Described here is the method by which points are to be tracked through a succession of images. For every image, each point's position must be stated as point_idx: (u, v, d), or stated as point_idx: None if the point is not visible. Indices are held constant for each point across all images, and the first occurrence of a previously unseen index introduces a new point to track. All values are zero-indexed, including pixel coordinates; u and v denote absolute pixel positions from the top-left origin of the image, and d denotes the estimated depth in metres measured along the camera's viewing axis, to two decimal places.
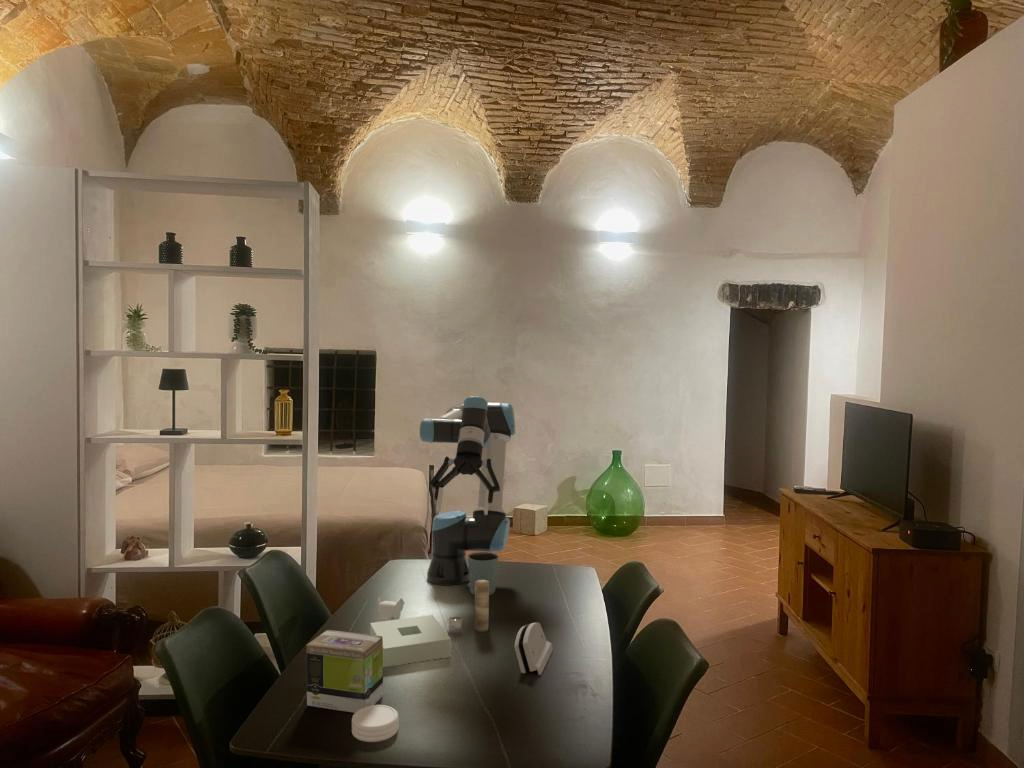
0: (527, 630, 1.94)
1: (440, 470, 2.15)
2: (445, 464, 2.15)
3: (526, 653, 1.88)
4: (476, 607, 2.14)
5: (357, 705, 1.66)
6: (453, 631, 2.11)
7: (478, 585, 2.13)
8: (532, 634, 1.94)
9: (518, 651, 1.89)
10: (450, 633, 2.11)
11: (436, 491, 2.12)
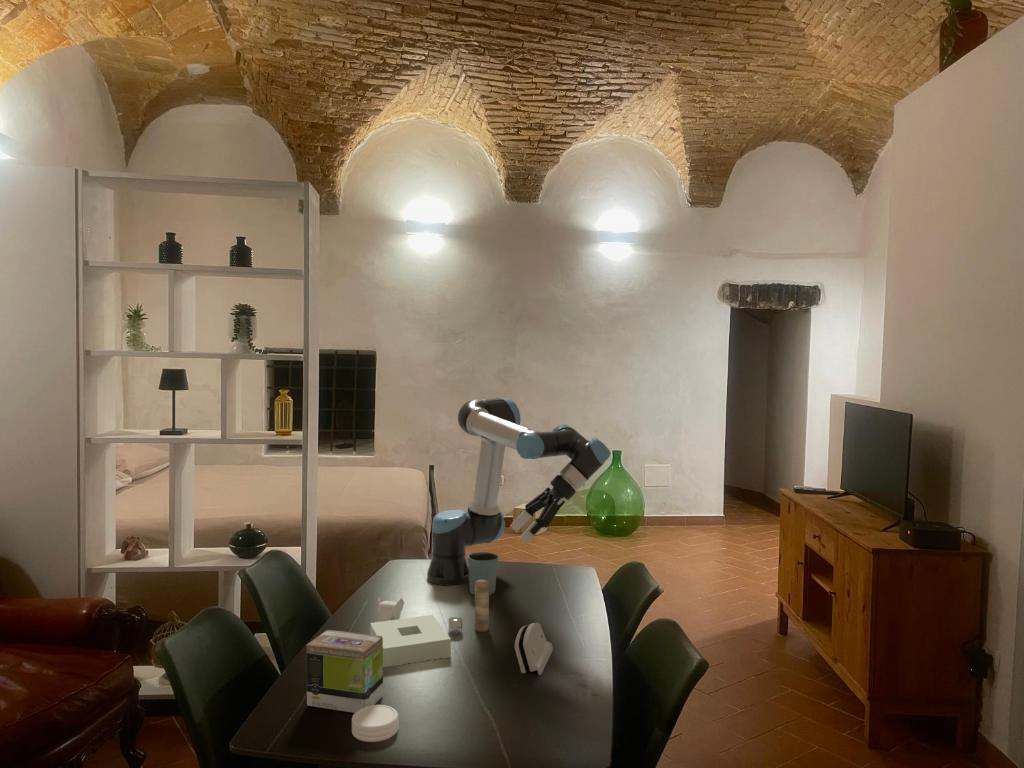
0: (527, 630, 1.93)
1: None
2: None
3: (526, 653, 1.88)
4: (476, 607, 2.14)
5: (357, 705, 1.66)
6: (453, 631, 2.11)
7: (478, 585, 2.13)
8: (532, 634, 1.94)
9: (518, 651, 1.89)
10: (450, 633, 2.11)
11: None
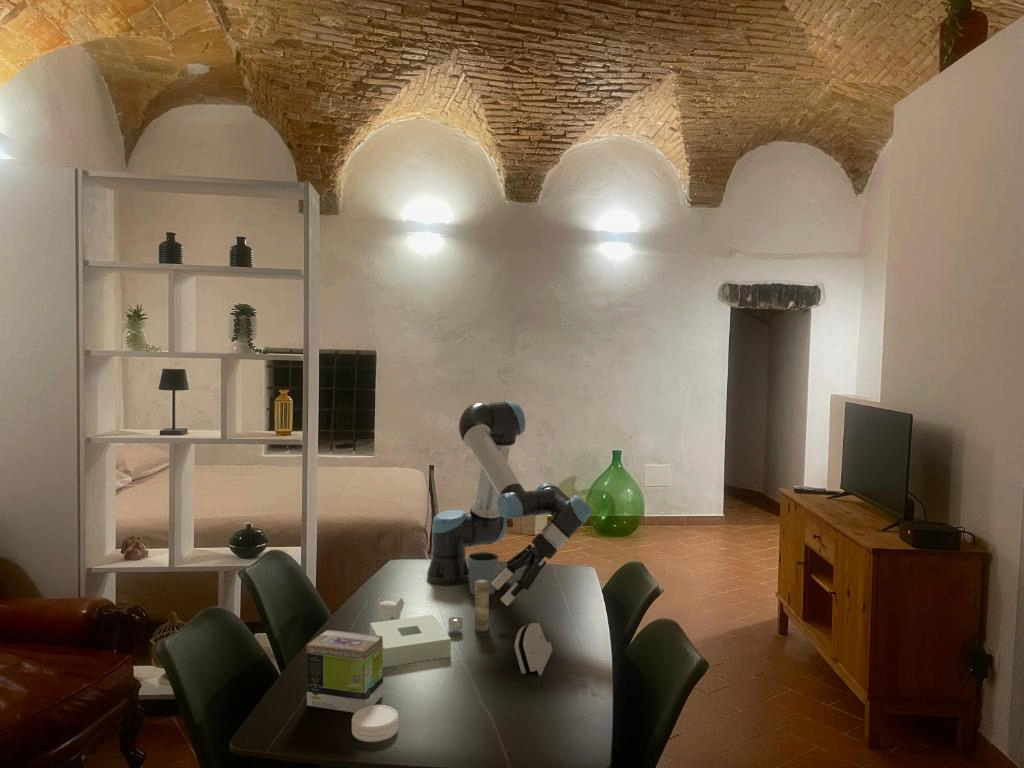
0: (527, 630, 1.93)
1: None
2: None
3: (526, 653, 1.88)
4: (476, 607, 2.14)
5: (357, 705, 1.66)
6: (453, 631, 2.11)
7: (478, 585, 2.13)
8: (531, 634, 1.93)
9: (518, 651, 1.88)
10: (450, 633, 2.11)
11: None
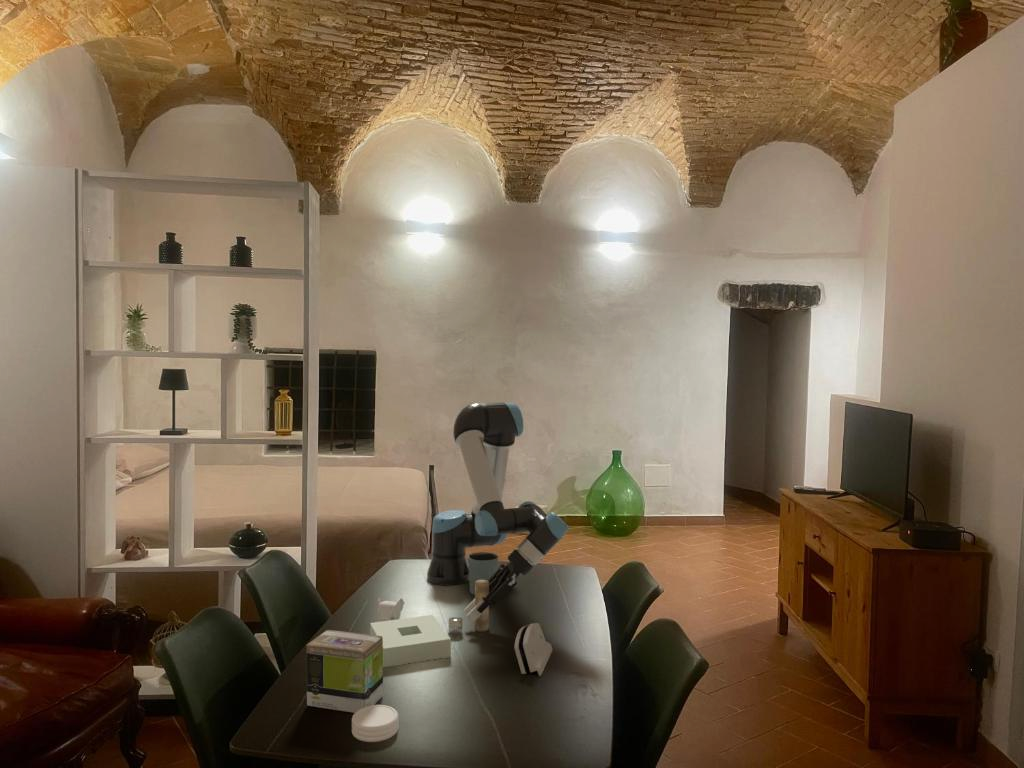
0: (527, 631, 1.93)
1: None
2: None
3: (526, 654, 1.87)
4: None
5: (357, 705, 1.66)
6: (453, 631, 2.11)
7: (478, 585, 2.13)
8: (531, 634, 1.93)
9: (518, 652, 1.88)
10: (450, 633, 2.11)
11: None
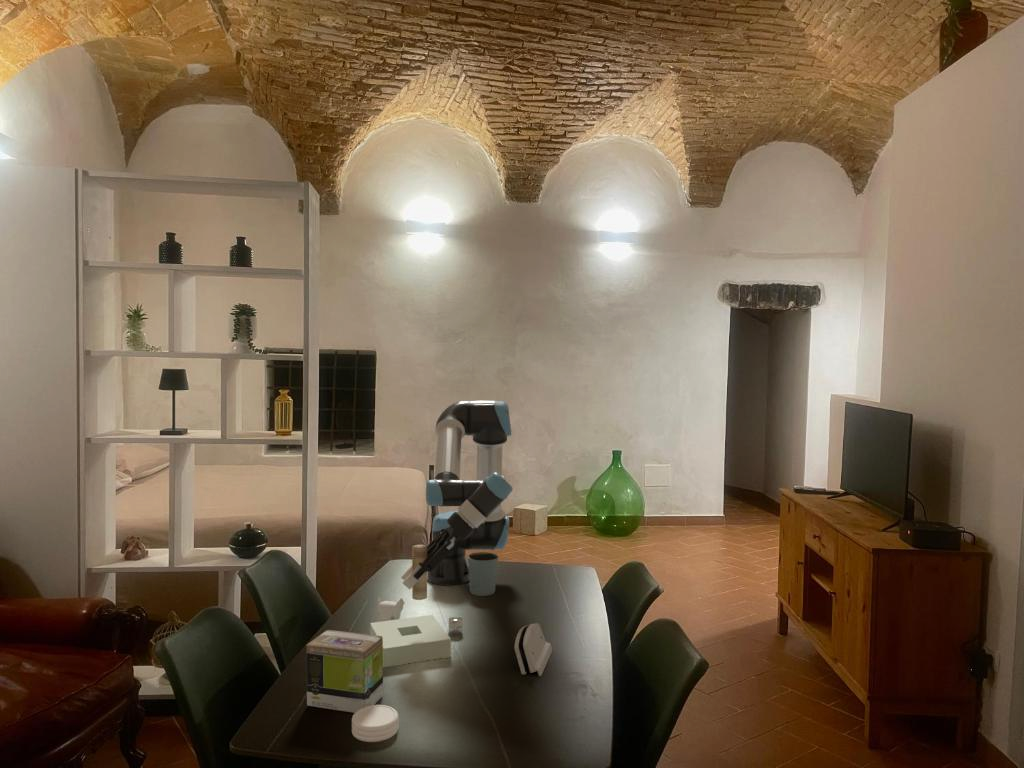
0: (527, 631, 1.93)
1: None
2: None
3: (526, 654, 1.87)
4: None
5: (357, 705, 1.66)
6: (453, 631, 2.11)
7: (415, 550, 1.99)
8: (531, 634, 1.93)
9: (518, 652, 1.88)
10: (450, 633, 2.11)
11: None
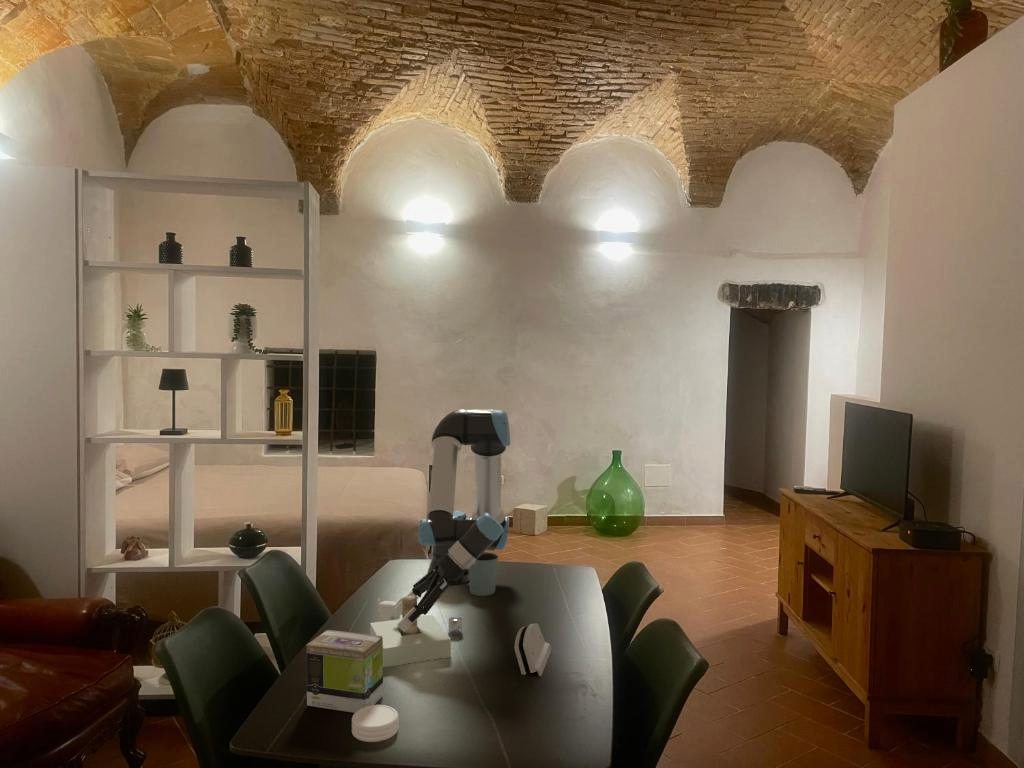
0: (526, 631, 1.93)
1: None
2: None
3: (526, 654, 1.87)
4: None
5: (357, 705, 1.66)
6: (453, 631, 2.11)
7: (405, 602, 1.99)
8: (531, 635, 1.93)
9: (518, 652, 1.88)
10: (450, 633, 2.11)
11: None
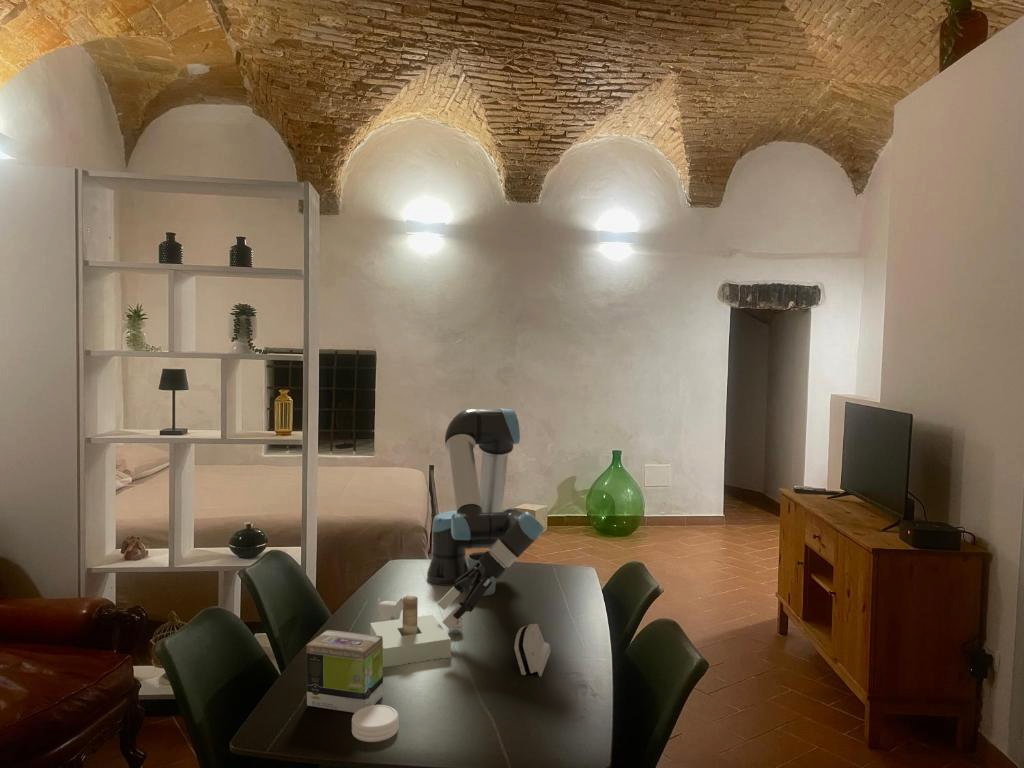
0: (526, 631, 1.93)
1: None
2: None
3: (526, 655, 1.87)
4: (403, 625, 2.00)
5: (357, 705, 1.66)
6: (452, 631, 2.11)
7: (405, 602, 1.99)
8: (531, 635, 1.93)
9: (518, 653, 1.88)
10: (450, 633, 2.11)
11: None
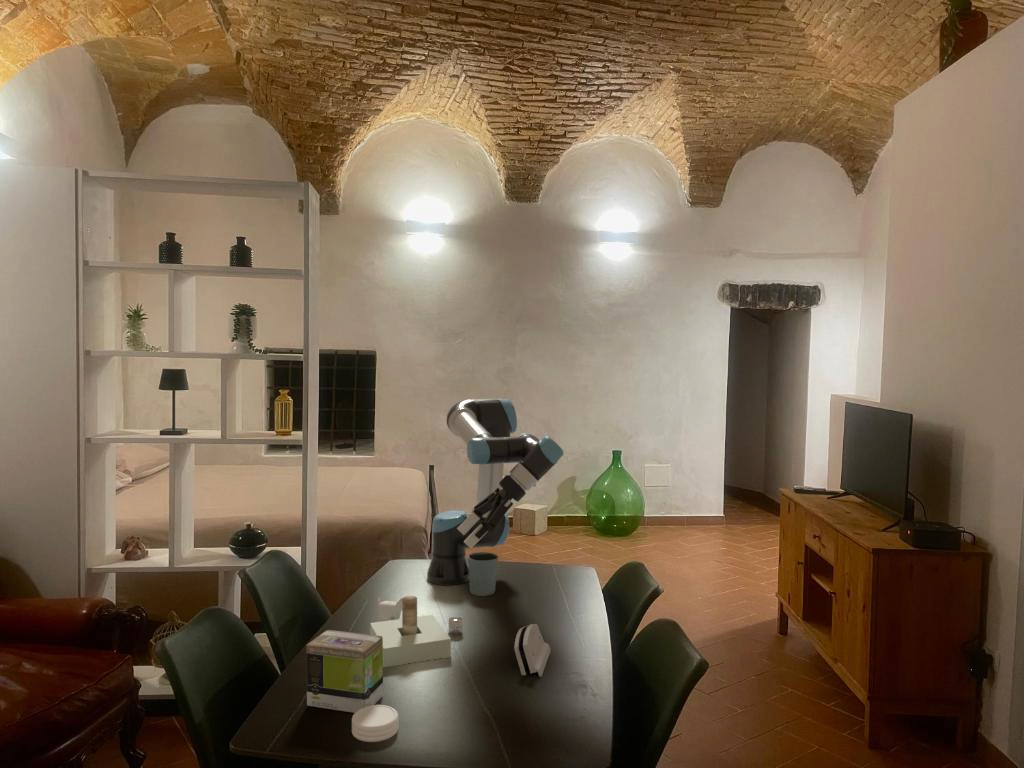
0: (526, 632, 1.92)
1: None
2: None
3: (526, 655, 1.87)
4: (403, 625, 2.00)
5: (357, 705, 1.66)
6: (452, 631, 2.11)
7: (405, 602, 1.99)
8: (531, 635, 1.93)
9: (518, 653, 1.87)
10: (450, 633, 2.11)
11: None
